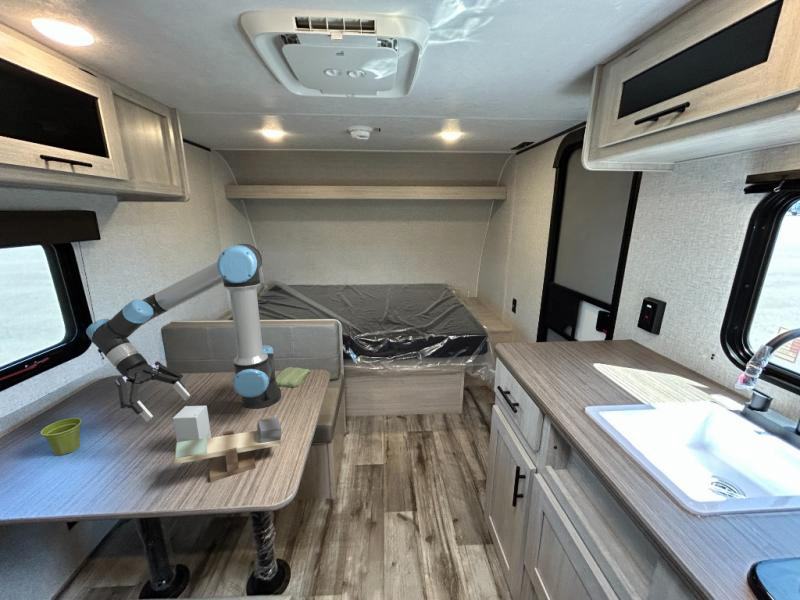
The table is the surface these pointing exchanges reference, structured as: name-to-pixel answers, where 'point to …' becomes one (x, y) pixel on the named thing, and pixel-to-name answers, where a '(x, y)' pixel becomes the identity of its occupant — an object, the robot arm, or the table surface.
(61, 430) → the plant pot
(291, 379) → the washcloth
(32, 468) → the table surface
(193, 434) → the supplement box
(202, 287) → the robot arm
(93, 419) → the table surface
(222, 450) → the seesaw beam
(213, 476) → the fulcrum stand
